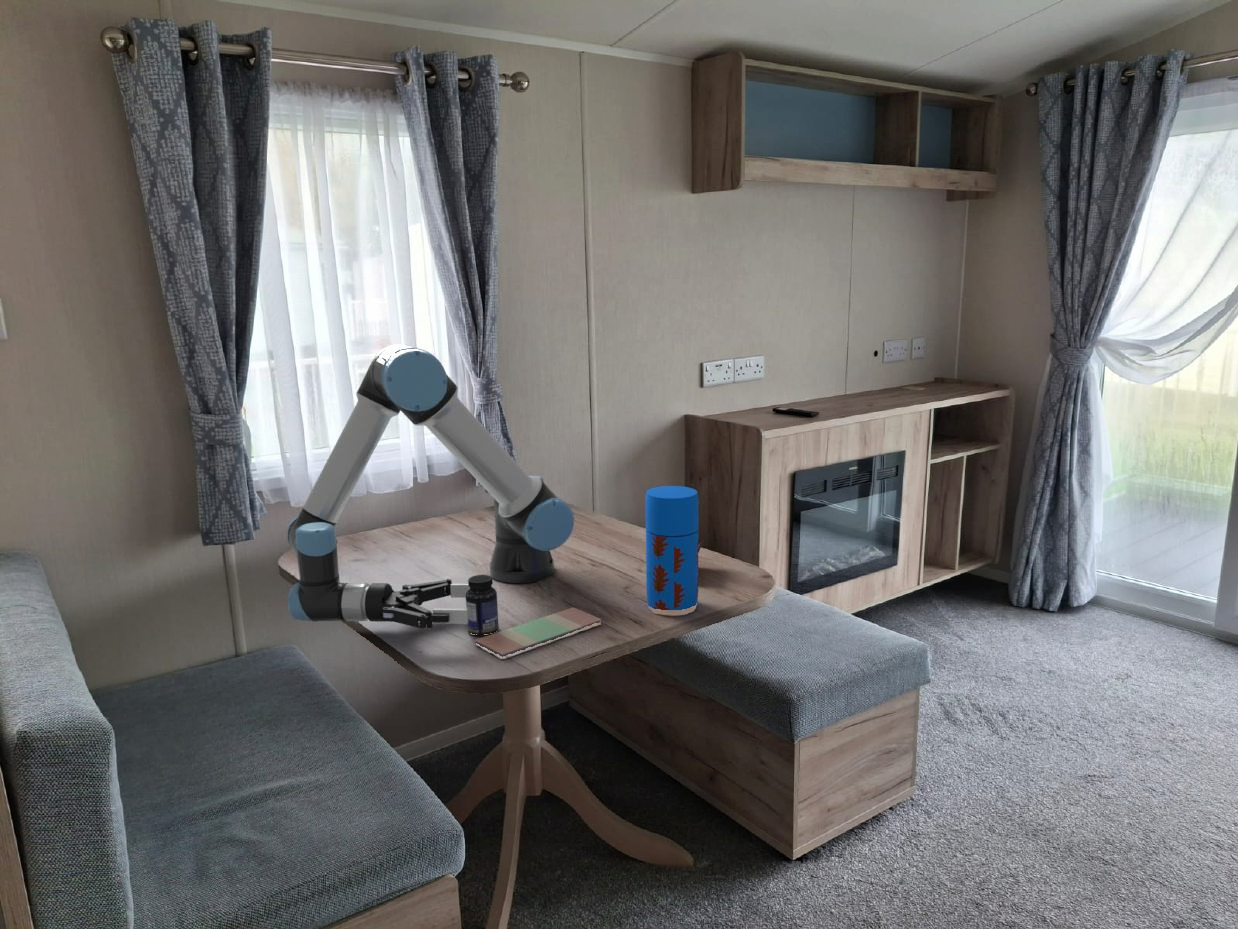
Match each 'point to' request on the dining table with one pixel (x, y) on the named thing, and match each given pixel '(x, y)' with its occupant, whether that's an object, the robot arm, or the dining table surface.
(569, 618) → the gauge plate
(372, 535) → the dining table surface
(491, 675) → the dining table surface
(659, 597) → the thermos
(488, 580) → the pill bottle
